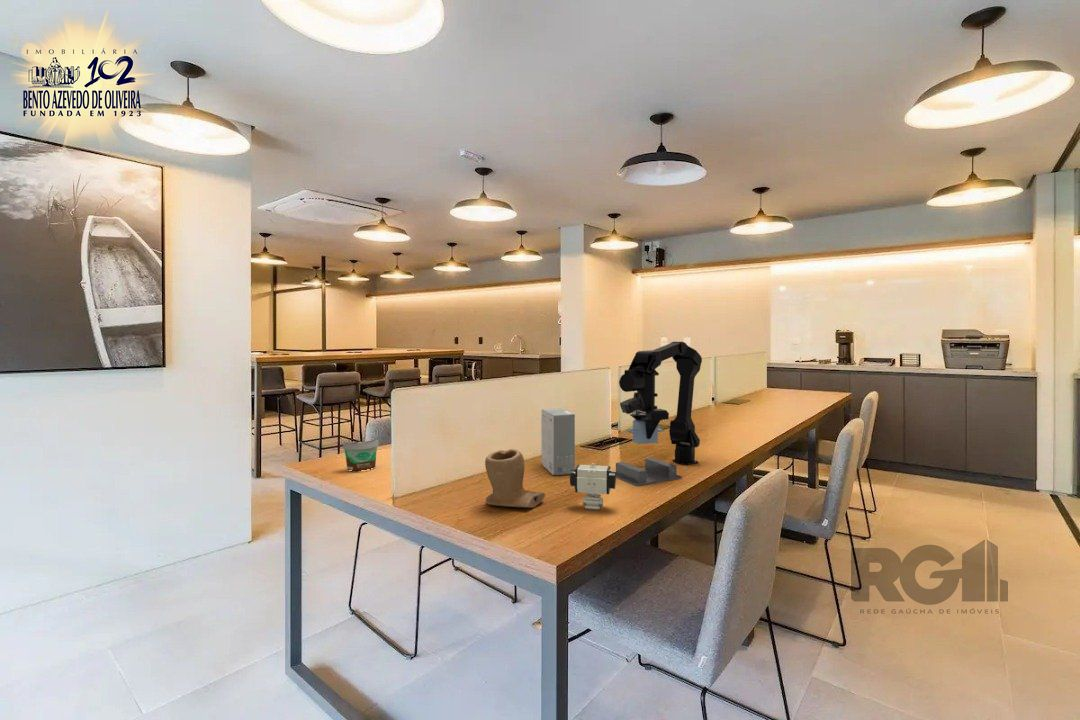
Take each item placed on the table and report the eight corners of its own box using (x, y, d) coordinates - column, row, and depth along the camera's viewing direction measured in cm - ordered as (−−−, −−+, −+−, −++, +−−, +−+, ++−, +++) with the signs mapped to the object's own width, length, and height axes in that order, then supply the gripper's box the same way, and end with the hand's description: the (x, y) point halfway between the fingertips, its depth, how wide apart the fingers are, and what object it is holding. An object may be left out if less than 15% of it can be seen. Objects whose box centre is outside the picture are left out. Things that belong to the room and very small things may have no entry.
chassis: (653, 468, 171) (653, 456, 171) (682, 478, 159) (682, 465, 158) (610, 474, 163) (610, 462, 163) (636, 486, 151) (636, 473, 150)
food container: (350, 475, 165) (349, 445, 164) (343, 471, 169) (342, 442, 169) (385, 468, 173) (384, 439, 172) (377, 465, 177) (377, 437, 177)
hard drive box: (575, 474, 164) (575, 414, 163) (553, 476, 162) (553, 415, 161) (561, 462, 179) (561, 407, 178) (540, 464, 177) (540, 408, 176)
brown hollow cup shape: (477, 510, 132) (476, 453, 131) (495, 496, 143) (495, 444, 142) (531, 516, 127) (530, 458, 126) (545, 501, 138) (545, 447, 137)
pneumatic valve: (572, 503, 136) (572, 460, 135) (615, 506, 133) (615, 462, 133) (569, 510, 131) (569, 465, 130) (614, 513, 128) (614, 467, 127)
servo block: (632, 444, 159) (633, 422, 159) (627, 442, 163) (627, 420, 162) (663, 442, 162) (663, 421, 162) (656, 440, 166) (656, 419, 166)
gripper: (610, 387, 168) (610, 433, 169) (638, 393, 150) (637, 445, 151) (640, 386, 172) (639, 431, 172) (670, 392, 154) (669, 442, 154)
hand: (645, 437), depth 162 cm, fingers closed on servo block, 4 cm apart
